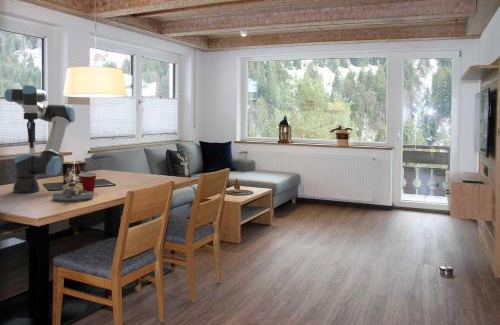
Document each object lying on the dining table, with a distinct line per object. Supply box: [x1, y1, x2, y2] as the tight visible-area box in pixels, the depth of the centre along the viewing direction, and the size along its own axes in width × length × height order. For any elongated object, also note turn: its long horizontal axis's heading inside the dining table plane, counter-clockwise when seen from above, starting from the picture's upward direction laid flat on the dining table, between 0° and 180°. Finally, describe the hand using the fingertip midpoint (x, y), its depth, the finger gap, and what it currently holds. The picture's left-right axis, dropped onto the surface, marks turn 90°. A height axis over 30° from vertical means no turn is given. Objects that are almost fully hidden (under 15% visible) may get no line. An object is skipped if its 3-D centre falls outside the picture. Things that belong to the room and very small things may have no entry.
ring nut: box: [62, 181, 83, 196], centre depth 270 cm, size 18×11×6 cm, turn 7°
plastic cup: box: [78, 171, 98, 193], centre depth 293 cm, size 11×11×12 cm
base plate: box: [52, 190, 94, 203], centre depth 274 cm, size 22×22×6 cm
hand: (32, 153), depth 272 cm, fingers closed
